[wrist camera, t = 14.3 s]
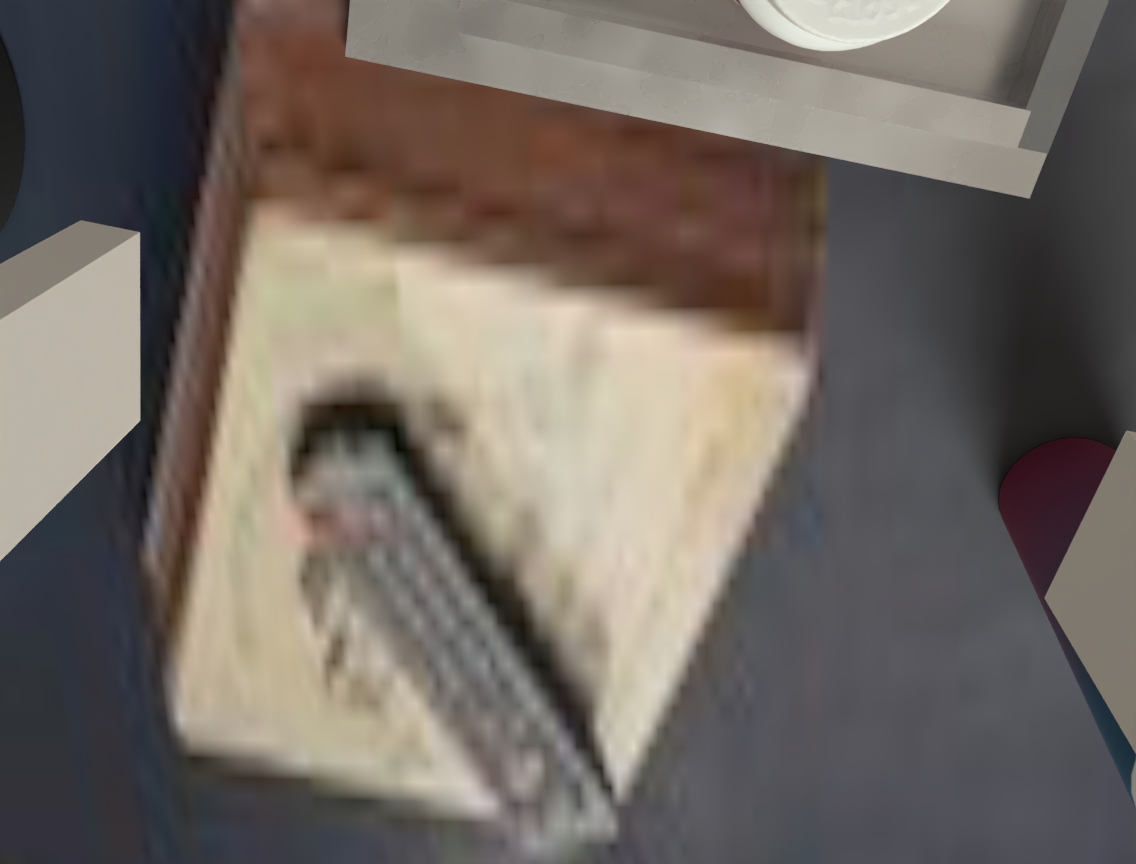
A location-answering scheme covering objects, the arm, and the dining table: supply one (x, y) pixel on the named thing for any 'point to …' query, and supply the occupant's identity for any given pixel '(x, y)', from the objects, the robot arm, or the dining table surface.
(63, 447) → the robot arm
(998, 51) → the white shallow tray
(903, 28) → the pill bottle
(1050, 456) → the cup
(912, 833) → the dining table surface
